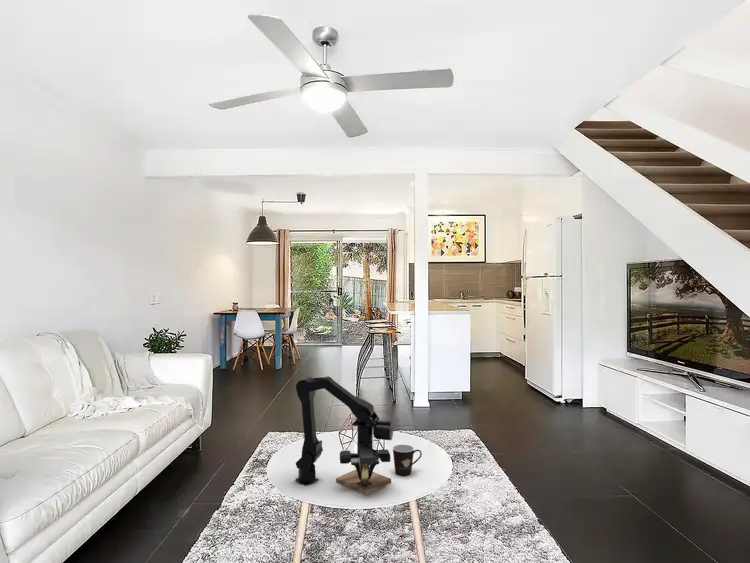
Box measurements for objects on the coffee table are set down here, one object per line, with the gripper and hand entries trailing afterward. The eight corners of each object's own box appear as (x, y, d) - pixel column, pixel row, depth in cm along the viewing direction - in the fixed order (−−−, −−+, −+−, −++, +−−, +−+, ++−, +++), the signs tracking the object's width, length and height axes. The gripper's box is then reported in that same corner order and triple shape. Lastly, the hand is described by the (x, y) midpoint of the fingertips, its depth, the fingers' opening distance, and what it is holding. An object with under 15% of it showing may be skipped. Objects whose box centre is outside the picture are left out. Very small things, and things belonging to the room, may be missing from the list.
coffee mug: (391, 476, 183) (391, 451, 183) (393, 468, 191) (393, 443, 191) (420, 478, 181) (421, 453, 181) (421, 469, 190) (421, 445, 190)
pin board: (335, 481, 178) (336, 463, 178) (361, 470, 188) (361, 453, 188) (366, 495, 167) (366, 475, 167) (391, 482, 178) (391, 464, 178)
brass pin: (360, 487, 171) (360, 466, 171) (360, 484, 175) (360, 463, 175) (369, 487, 172) (369, 466, 172) (368, 483, 175) (368, 462, 175)
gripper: (340, 446, 164) (340, 490, 164) (392, 444, 166) (392, 487, 166) (339, 435, 175) (339, 476, 175) (388, 434, 177) (388, 474, 177)
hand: (364, 479), depth 173 cm, fingers closed on brass pin, 3 cm apart
